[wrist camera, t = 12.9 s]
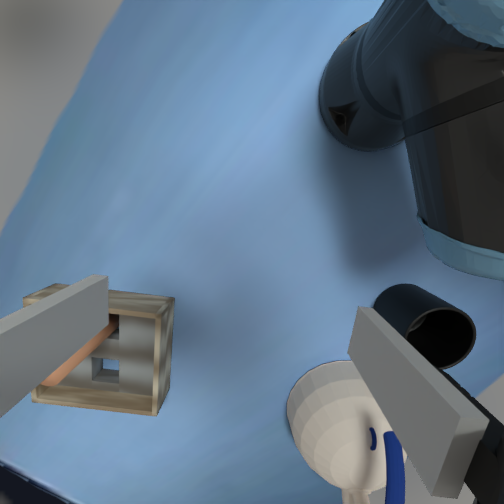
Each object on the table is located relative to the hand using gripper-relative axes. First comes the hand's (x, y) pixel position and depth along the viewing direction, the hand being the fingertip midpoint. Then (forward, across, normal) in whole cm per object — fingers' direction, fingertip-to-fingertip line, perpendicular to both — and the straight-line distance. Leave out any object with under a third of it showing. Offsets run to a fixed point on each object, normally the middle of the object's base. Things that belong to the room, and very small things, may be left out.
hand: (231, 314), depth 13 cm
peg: (+27, -21, -17) cm, 38 cm away
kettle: (+27, +21, -30) cm, 46 cm away
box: (+27, -21, -21) cm, 40 cm away
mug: (+27, +28, -10) cm, 40 cm away
